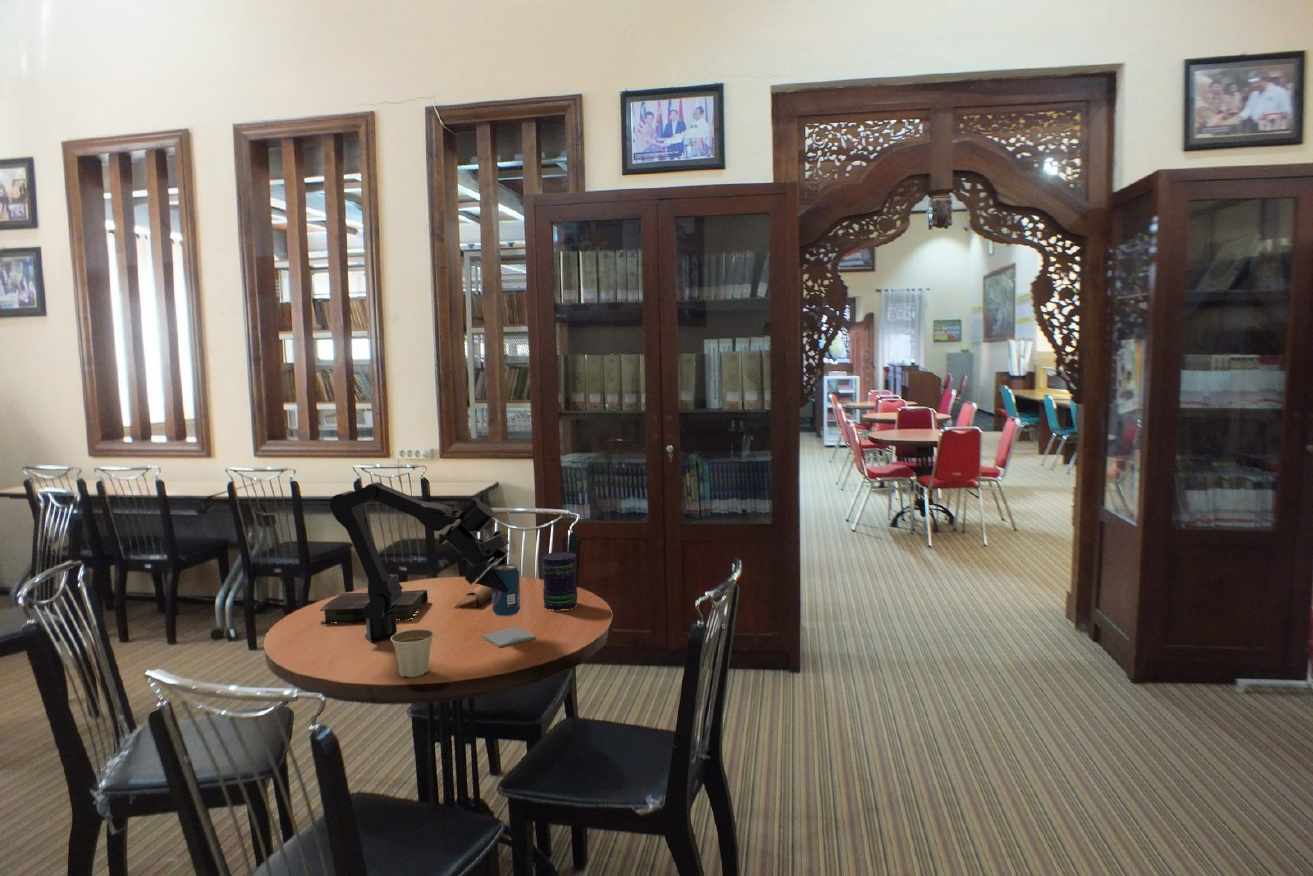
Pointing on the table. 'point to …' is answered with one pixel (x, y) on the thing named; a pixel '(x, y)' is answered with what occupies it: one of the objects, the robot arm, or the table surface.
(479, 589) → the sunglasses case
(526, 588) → the table surface
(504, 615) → the soda can
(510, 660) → the table surface
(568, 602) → the storage jar
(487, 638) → the coaster
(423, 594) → the diary
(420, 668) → the flower pot
